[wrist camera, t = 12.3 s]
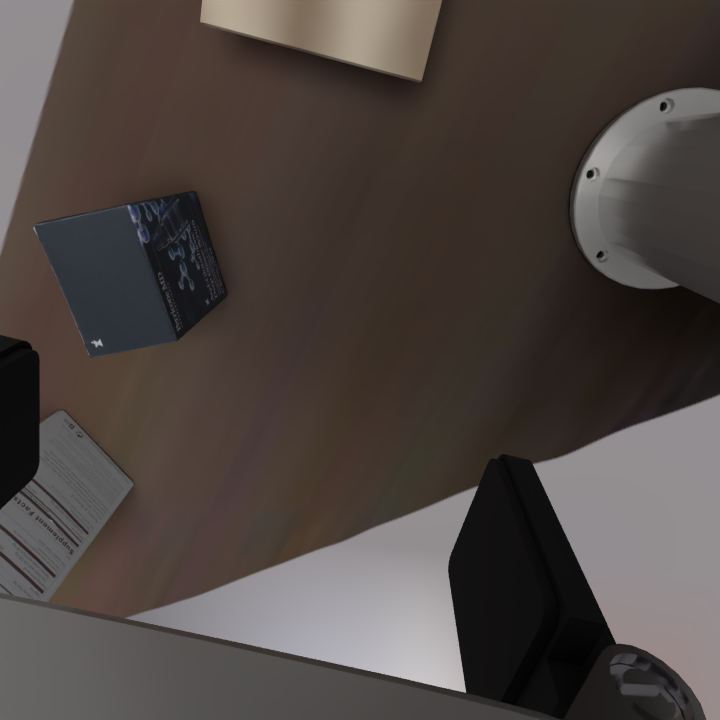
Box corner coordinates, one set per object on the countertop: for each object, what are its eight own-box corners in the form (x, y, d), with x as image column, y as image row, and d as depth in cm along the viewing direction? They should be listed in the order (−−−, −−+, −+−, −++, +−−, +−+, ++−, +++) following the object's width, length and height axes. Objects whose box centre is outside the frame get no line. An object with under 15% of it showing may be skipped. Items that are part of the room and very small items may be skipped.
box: (230, 295, 39) (178, 344, 29) (160, 308, 39) (86, 361, 30) (197, 188, 36) (127, 203, 26) (122, 204, 37) (27, 224, 27)
